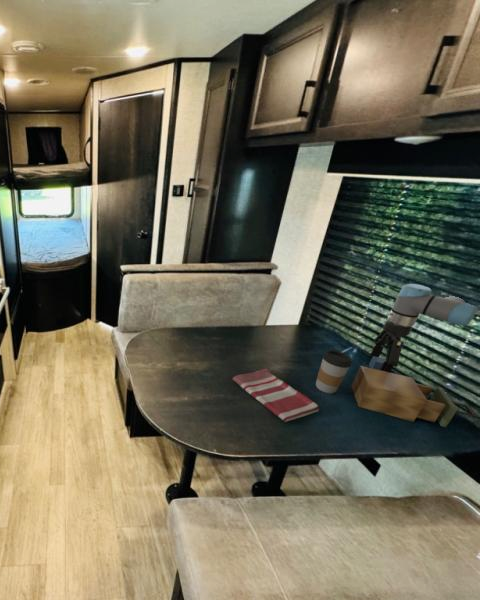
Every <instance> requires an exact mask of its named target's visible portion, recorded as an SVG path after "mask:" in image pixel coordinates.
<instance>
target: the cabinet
mask: <svg viewBox="0 0 480 600" xmlns="http://www.w3.org/2000/svg"><path fill="white" fill-rule="evenodd" d="M416 382H417V381H415V379H414V377H411V376H407V375H403V374H398V373H393V372H390V373H389V372H385V371H381V370H376V369H372V368H370V367H369V366H368V367H367V366H363V365H360V366H359V369H358V371H357V372H356V375H355V376H354V379H353V381H352V384H351V389H352V392H353V395H354V398H355V401H356V403H357V406H358V407H359V408H362V409H365V410H370V411H373V412H377V413H380V414H385V415H388V416H390V417H391V416H392V417H395V418H399V419H402V420H406V421H409V422H415V420H416V419H417V415H418V414H419V412H420V410H421V409H422V407H423V405H424V404H425V402H426V400H428V398H427V399H426V398H425V396H424V395H423V393H422V392H421V390H420V388H419V387H418V385H417V384H418V383H417V384H416Z"/></svg>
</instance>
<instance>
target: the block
mask: <svg viewBox="0 0 480 600" xmlns="http://www.w3.org/2000/svg"><path fill="white" fill-rule="evenodd" d="M384 361H385V362H386V358H383V357H380V356H379V357H375V356H373V357H372V359H370V361H369V363H368V367H369V368H372V369H376V370H380V369H381V367H382V365H383V362H384Z"/></svg>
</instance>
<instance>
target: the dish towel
mask: <svg viewBox="0 0 480 600" xmlns="http://www.w3.org/2000/svg"><path fill="white" fill-rule="evenodd" d="M232 381H233V382H235V384H237V385H238V386H240V388H242V390H244V391H245V392H246V393H248V394H249V395H250V397H252V398H254V399H255V400H257V401H258V402H259V403H260V404H262V405H263V406H264V407H265V408H266V409H267V410H268V411H270V412H271V413H272V414H274V416H276V417H278V418H279V419H280V420H281V421H283V422H284V423H286V422H290V421H294V420H296V419H300V418H302V417H306V416H309V415H311V414H314V413H317V412H319V409H320V406H319V405H318V404H317V403H316V402H314V401H313V400H312V399H311V398H309V397H308V396H307V395H305V394H303V393H301V392H299V391H298V390H296V389H294V388H293V387H292V386H291V385H289V384H287V383H286V382H285V381H284V380H282V379H279V378H278V377H276V376H275V375H274V374H273V373H271V371H269V369H268V368H267V367H265V368H263V369H259V370H256V371H254V372H249V373H241V374H237V375H235V376H233V377H232Z"/></svg>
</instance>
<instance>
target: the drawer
mask: <svg viewBox="0 0 480 600" xmlns="http://www.w3.org/2000/svg"><path fill="white" fill-rule="evenodd" d="M416 384H417V385H418V387H419V388H420V390H421V392H422V393H423V395H424V396H425V398H426V399H427V400H426V402H425V404H424V405H423V407H422V409H421V410H420V412H419V414H418V415H417V417H416V419H421V420H424V421H429V422H433V423H435V422H436V421H437V422H438V424H439V426H440V427H444V428H447V426H448V425H449V423H450V422H451V420H452V419H453V418H454V416H455V414H460V415H464V416H466V417H467V416H468V417H471V418H473V419H475V420H478V419H479V416H478V414H477V413H476V412H475V410H474V409H473V408H472V407H471V405H470V404H469V403H460V402H455V401H452V399H451V398H450V396H449V395H448V393H446V391H445V389H443V387H441V386H436V388H435V389H434V387H433V386H429V385H425V384H421V383H416ZM433 390H434V391H433ZM432 392H433V393H432ZM431 394H432V395H431ZM430 395H431V396H430ZM457 406H459V407H464V408H465V409H466V411H467V412H464V411H461V410H458V407H457Z"/></svg>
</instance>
